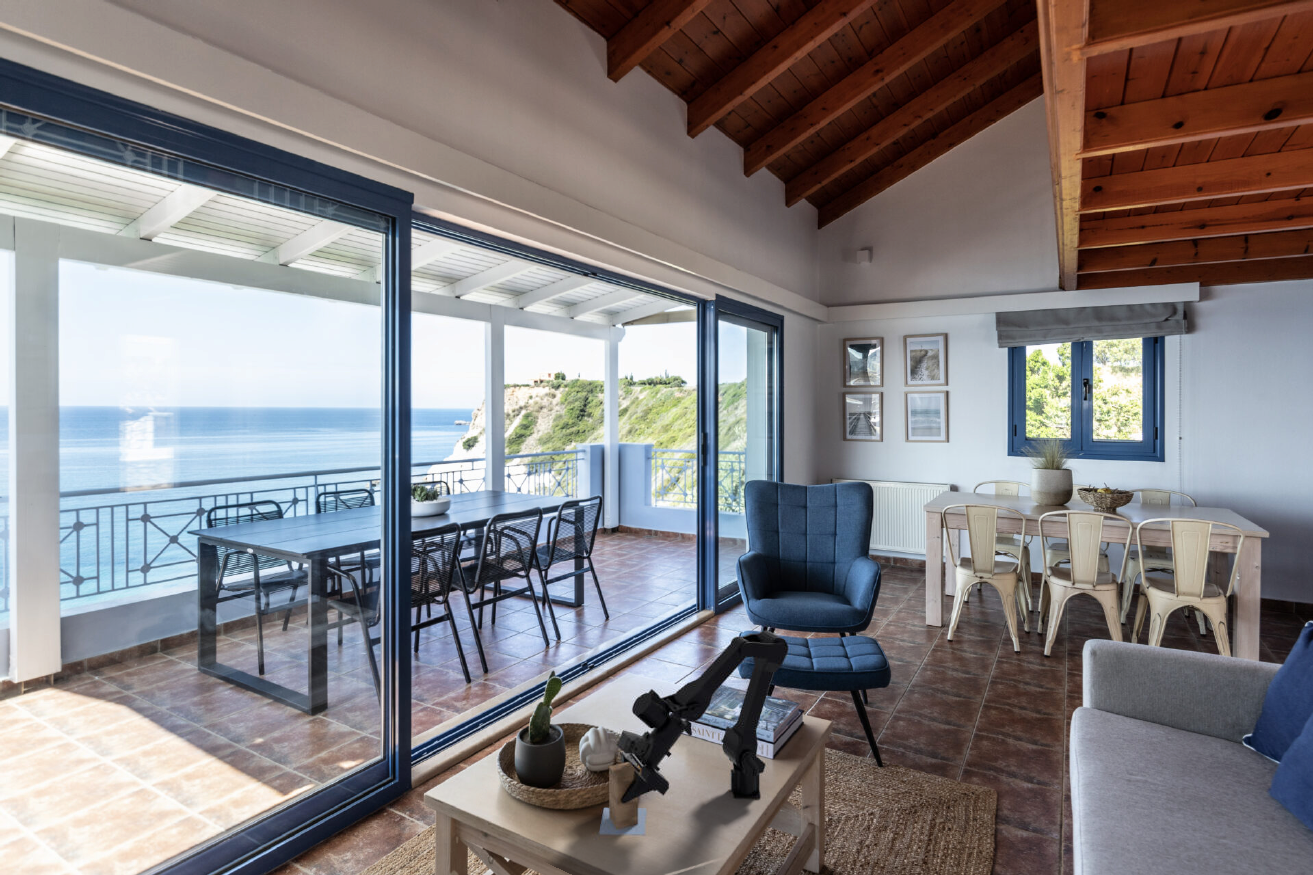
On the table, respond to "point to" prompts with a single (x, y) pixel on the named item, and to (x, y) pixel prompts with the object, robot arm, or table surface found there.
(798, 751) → the table surface
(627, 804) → the walnut pillar
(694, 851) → the table surface
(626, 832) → the light blue square plate
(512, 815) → the table surface
